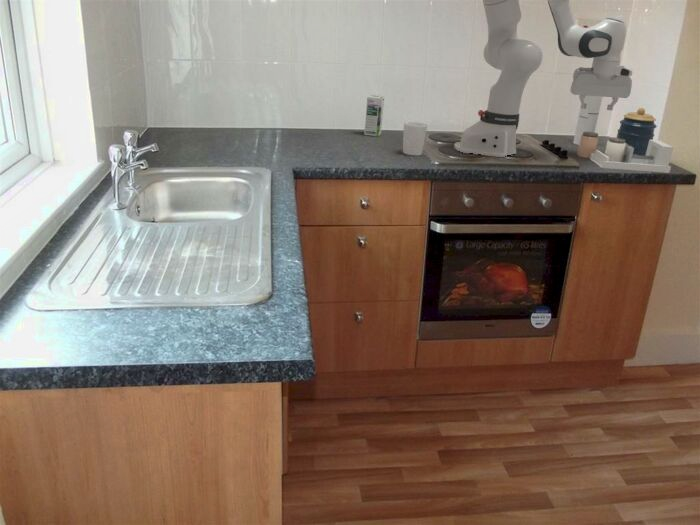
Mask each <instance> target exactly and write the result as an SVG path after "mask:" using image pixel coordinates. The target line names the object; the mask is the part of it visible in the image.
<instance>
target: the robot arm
mask: <svg viewBox="0 0 700 525" xmlns="http://www.w3.org/2000/svg"><path fill="white" fill-rule="evenodd" d="M482 3H483V8H484V12H485V17H486V23H487V31H488V33H487V34H488V35H487V43H486V44H485V46H484V48H483V59H484V61H485V62H486V63H487V64H488V65H489V66H491V67H492V68H493V69H496V70H500V74H499V77H498V79H497V81H496V83H494V84H493V85H492V86H491V87H490V89H489V90H490V91H489V97H488V102H487V110H483V109H482V110H481V109H480V110H478V111H477V115H478V116H479V121H477V122H476V123H474V124H473V125H470V126H469V127H467V128H465V129H464V131H463V133H462V135H461V138H460V141H457V142H455V143H454V144H453V148H454V150H456V151H457V152H459V151H460V153H462V152H463V154H469V153H473V154H472V155H478V154H481V155H480V156H487V157H497V158H506V157H508V156H507V155H511V154H515V153H516V154H517V143H516V141H517V130H518V127H519V122H520V107H521V103H522V96H523V93H524V91H525V87H526V85H527V83H528V81H529V79H530V77H531V76H532V74H533V73H535V72H536V71H537V70H538V69H539V68H540V66H541V64H542V61H543V52H542V49H541V48H540V46H539V45H538V44H536V43H534V42H532V41H530V40H526V39H520V38H518V33H517V32H518V24H519V23H520V22H521V19H522V10H521V7H520V6H521V5H520V1H519V0H482ZM547 3H548V7H549V10H550V13H551V16H552V19H553V22H554V25H555V28H556V33H557V46H558V50H559V51H560V53H561V54H562V55H564V56H566V57H577V58H582V59H592V58H593V60H592V63H591V64H592V65H591V67H583V66H582V67H577V68H576V69H575V70H574V71H573V75H572V79H573V80H572V82H571V86H570V90H569V91H570V93H571V94H572V95H575V96H578V98H579V101H580V108H583V109H586V106H587V104H586V103H584V100H583V99H585V96H601V97H602V98H603V97H604V98H605V97H606V98H611V100H612V101H611V103H609V104H607V107H606V110H607V111H613V110H614V106H615V105H616V104H617V103H618V102H619V98H620V99H628V98H629V97H630V96H631V93H632V84H633V80H632V78H631V76H633V70H631V69H630V68H627V67H625V65H624V66H623V65H620V64H621V54H622V51H623V49H624V46H625V42H626V41H625V40H626V36H627V26H626V23H625V22H624V21H622V20H620V19H615V18H609V17H607V18H603V19H602V21H600V22H598V23H597V24H595V25H593V26H589V27H582V26H581V25H579V24H578V23H577V22H576V20H575V17H574V13H573V10H572V8H571V4H570V0H547ZM516 154H515V155H516ZM505 156H506V157H505ZM511 156H512V155H511Z"/></svg>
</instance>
